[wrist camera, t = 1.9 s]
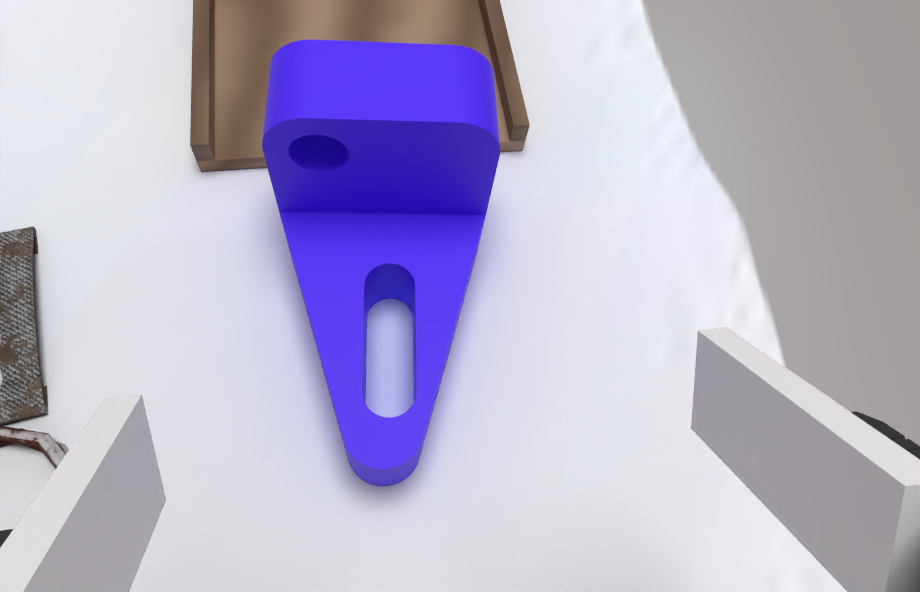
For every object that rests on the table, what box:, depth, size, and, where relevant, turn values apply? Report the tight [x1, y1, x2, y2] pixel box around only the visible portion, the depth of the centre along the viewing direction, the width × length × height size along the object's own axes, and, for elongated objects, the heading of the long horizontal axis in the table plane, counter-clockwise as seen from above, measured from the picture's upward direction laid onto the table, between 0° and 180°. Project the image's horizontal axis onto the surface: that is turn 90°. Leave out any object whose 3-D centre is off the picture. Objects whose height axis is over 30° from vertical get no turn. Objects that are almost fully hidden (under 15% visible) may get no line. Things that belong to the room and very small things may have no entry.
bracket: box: [262, 40, 500, 486], centre depth 33 cm, size 18×11×12 cm, turn 3°
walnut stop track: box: [190, 0, 530, 172], centre depth 45 cm, size 20×20×5 cm
